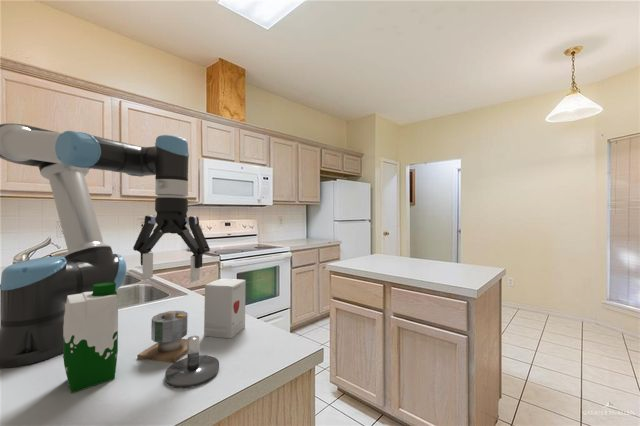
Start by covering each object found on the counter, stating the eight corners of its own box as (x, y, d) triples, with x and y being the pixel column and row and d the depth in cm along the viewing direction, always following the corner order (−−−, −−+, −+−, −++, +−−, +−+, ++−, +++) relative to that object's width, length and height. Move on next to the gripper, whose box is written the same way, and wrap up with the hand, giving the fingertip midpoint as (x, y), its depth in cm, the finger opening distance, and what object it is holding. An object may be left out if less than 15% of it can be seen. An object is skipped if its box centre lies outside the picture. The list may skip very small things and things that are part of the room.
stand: (137, 358, 69) (137, 317, 69) (166, 340, 79) (166, 304, 79) (174, 362, 68) (174, 320, 68) (198, 343, 78) (199, 307, 78)
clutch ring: (144, 341, 70) (144, 319, 70) (166, 328, 78) (167, 308, 78) (173, 343, 69) (173, 321, 69) (193, 330, 77) (193, 310, 77)
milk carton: (120, 378, 61) (121, 285, 61) (64, 397, 55) (65, 294, 55) (113, 363, 67) (114, 278, 67) (61, 378, 61) (62, 285, 61)
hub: (152, 384, 59) (153, 347, 59) (186, 358, 70) (186, 326, 70) (201, 391, 57) (201, 352, 57) (228, 362, 68) (228, 330, 68)
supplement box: (231, 339, 81) (232, 286, 81) (203, 336, 82) (203, 284, 82) (246, 326, 89) (246, 279, 89) (220, 324, 91) (220, 277, 91)
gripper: (117, 196, 72) (116, 280, 72) (208, 196, 68) (207, 285, 68) (140, 197, 79) (139, 273, 79) (224, 198, 75) (223, 278, 75)
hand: (170, 279), depth 74 cm, fingers open, 13 cm apart
